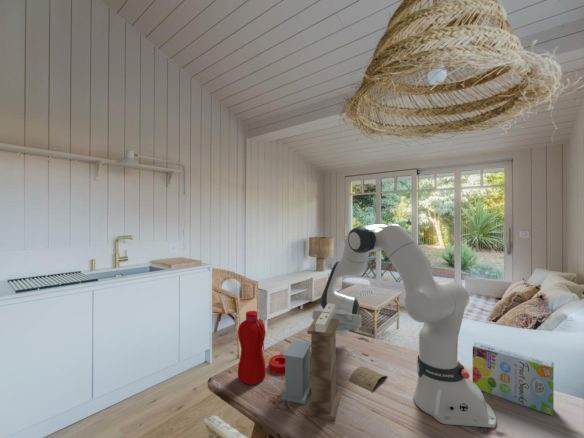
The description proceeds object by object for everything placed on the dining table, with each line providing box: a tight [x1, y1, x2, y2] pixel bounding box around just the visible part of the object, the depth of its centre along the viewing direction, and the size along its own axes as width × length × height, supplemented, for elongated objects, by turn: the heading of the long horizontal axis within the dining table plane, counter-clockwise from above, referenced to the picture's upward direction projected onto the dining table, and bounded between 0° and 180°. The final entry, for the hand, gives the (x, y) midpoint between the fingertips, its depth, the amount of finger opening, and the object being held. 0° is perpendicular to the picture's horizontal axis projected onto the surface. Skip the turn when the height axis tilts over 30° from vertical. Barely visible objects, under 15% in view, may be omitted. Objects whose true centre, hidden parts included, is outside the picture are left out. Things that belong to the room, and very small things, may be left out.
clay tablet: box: [348, 365, 385, 393], centre depth 105 cm, size 14×10×3 cm
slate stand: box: [281, 339, 311, 405], centre depth 98 cm, size 8×12×15 cm, turn 163°
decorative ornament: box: [268, 354, 285, 375], centre depth 114 cm, size 10×10×3 cm
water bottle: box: [237, 310, 267, 386], centre depth 105 cm, size 9×11×25 cm
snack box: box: [472, 341, 555, 417], centre depth 94 cm, size 21×6×15 cm, turn 46°
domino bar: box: [315, 303, 336, 333], centre depth 95 cm, size 3×21×2 cm, turn 163°
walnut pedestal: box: [305, 317, 342, 422], centre depth 90 cm, size 9×12×26 cm
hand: (334, 314), depth 111 cm, fingers open, 8 cm apart
